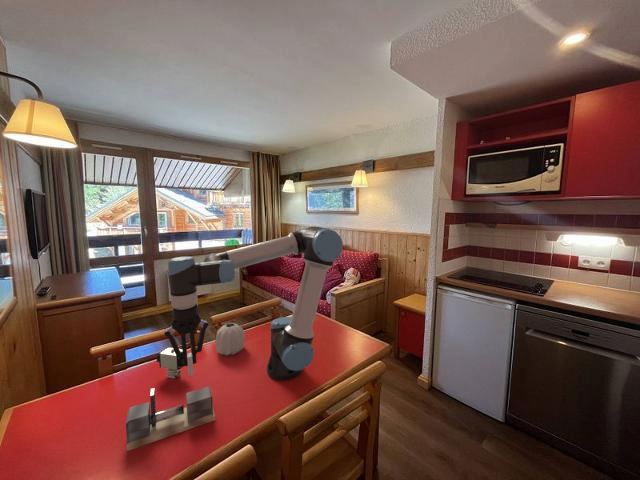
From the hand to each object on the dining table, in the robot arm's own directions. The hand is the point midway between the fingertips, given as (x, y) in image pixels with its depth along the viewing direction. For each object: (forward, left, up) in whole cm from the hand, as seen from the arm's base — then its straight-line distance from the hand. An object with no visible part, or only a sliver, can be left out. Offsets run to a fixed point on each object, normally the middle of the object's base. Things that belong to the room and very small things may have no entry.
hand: (191, 373), depth 88 cm
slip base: (+4, +4, -15) cm, 16 cm away
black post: (+7, +7, -14) cm, 17 cm away
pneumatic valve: (+21, -18, -16) cm, 32 cm away
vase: (+8, -40, -16) cm, 44 cm away
